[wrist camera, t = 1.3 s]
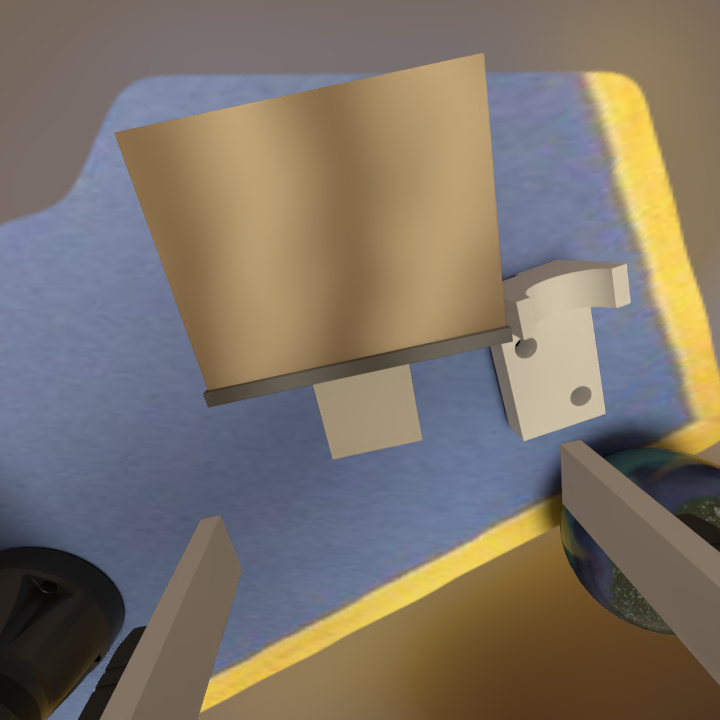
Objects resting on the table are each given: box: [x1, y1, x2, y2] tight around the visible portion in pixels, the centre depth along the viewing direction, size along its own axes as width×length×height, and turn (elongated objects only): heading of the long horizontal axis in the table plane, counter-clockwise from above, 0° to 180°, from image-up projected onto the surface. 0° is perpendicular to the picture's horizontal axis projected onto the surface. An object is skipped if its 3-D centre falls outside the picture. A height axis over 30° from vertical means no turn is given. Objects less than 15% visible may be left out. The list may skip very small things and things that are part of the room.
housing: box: [115, 53, 513, 407], centre depth 20 cm, size 13×10×16 cm
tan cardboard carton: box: [313, 364, 422, 459], centre depth 24 cm, size 5×10×12 cm, turn 12°
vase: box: [560, 448, 720, 636], centre depth 30 cm, size 15×15×13 cm
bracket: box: [490, 259, 631, 441], centre depth 28 cm, size 13×7×8 cm, turn 19°
